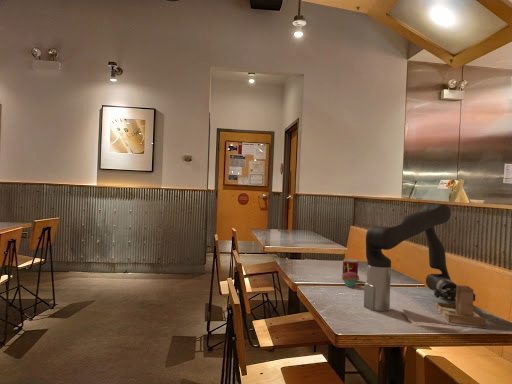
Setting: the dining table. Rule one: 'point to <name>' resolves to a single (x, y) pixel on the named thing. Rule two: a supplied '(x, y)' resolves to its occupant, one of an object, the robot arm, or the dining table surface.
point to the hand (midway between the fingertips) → (459, 298)
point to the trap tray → (451, 317)
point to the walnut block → (464, 300)
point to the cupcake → (350, 278)
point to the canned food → (350, 266)
